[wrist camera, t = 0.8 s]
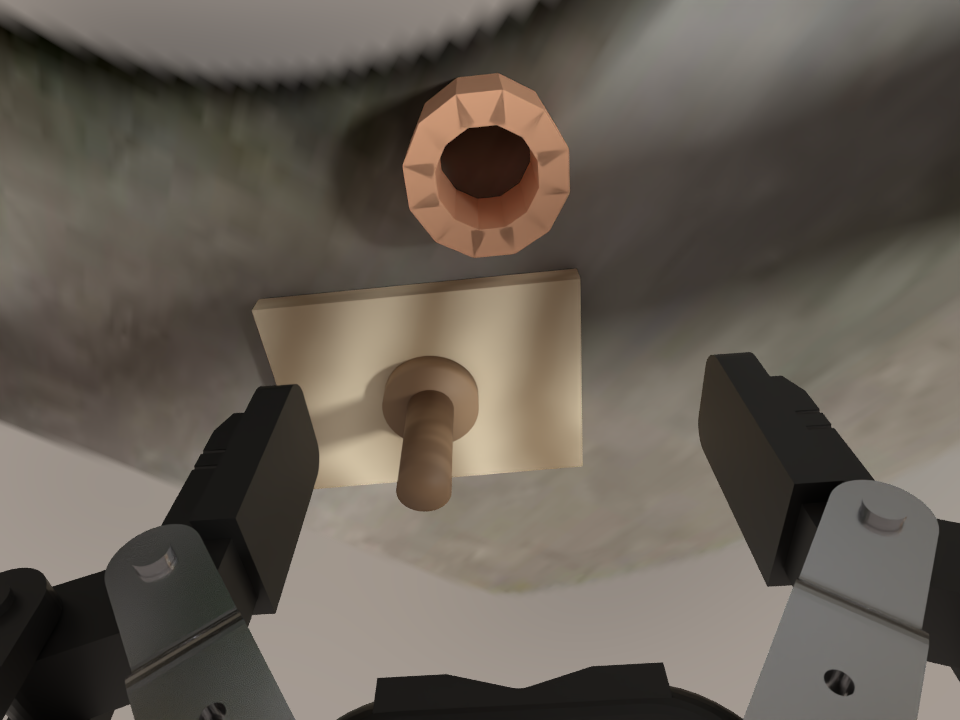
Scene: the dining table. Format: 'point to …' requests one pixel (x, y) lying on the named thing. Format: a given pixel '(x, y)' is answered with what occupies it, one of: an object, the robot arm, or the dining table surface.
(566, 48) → the dining table surface
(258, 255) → the dining table surface
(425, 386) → the post
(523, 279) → the base board
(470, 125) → the ring
